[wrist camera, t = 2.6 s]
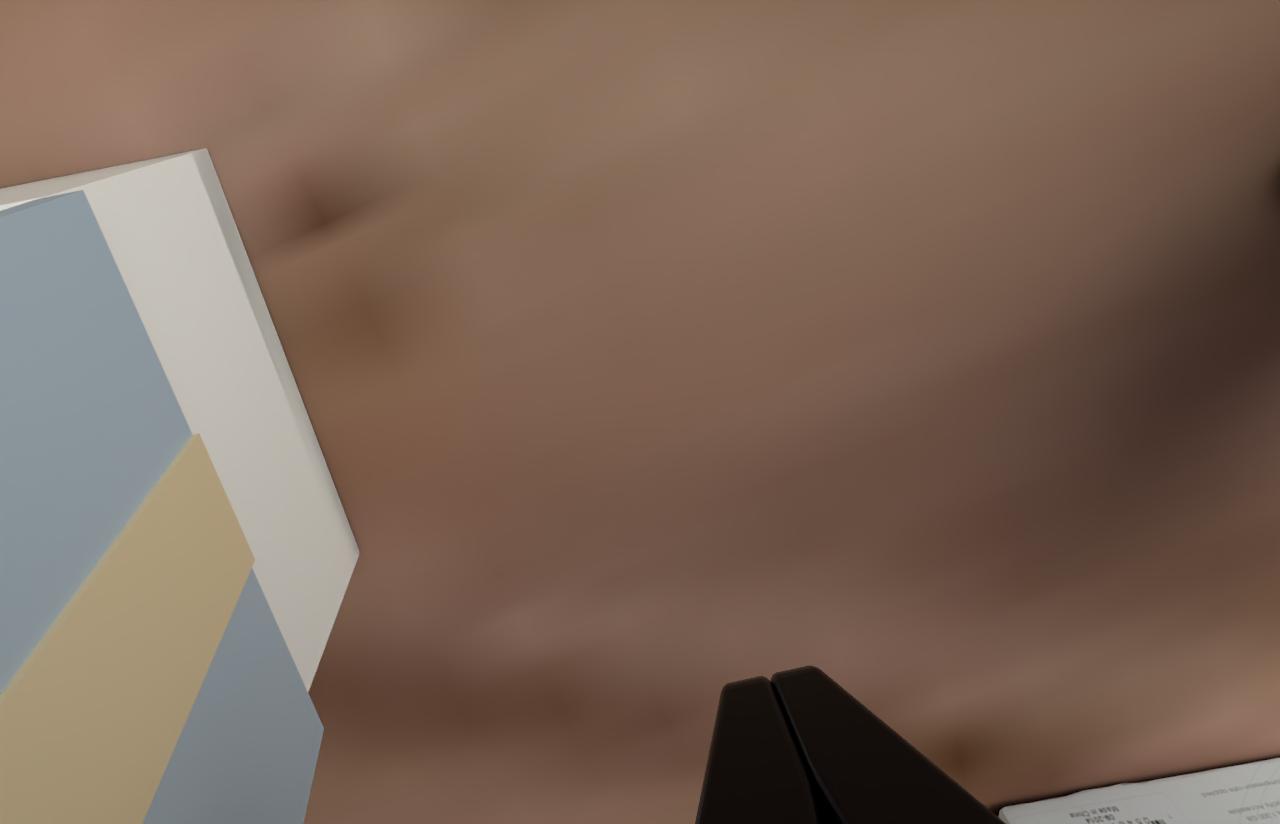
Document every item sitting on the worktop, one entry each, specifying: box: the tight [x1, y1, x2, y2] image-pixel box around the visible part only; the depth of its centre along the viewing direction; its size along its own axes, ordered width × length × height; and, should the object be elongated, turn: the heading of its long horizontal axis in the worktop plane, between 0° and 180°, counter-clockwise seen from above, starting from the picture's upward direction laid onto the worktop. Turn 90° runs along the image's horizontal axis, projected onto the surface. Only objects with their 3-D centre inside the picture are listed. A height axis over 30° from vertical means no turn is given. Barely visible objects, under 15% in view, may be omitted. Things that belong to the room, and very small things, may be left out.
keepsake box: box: [0, 148, 360, 692], centre depth 16 cm, size 8×10×6 cm
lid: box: [0, 190, 324, 824], centre depth 10 cm, size 8×10×1 cm
